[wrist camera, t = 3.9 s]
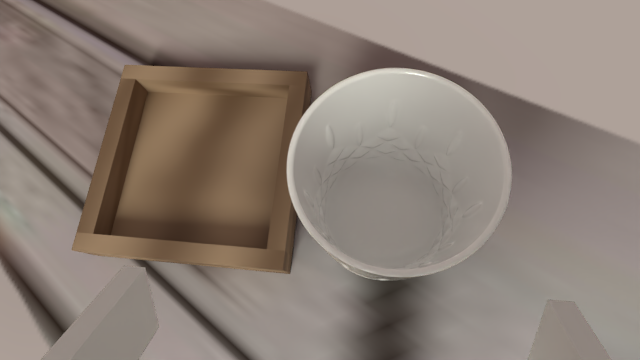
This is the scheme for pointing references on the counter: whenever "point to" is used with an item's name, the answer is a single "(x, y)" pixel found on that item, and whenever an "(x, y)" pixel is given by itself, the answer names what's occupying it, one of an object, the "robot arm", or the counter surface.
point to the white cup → (398, 173)
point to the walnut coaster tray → (197, 168)
